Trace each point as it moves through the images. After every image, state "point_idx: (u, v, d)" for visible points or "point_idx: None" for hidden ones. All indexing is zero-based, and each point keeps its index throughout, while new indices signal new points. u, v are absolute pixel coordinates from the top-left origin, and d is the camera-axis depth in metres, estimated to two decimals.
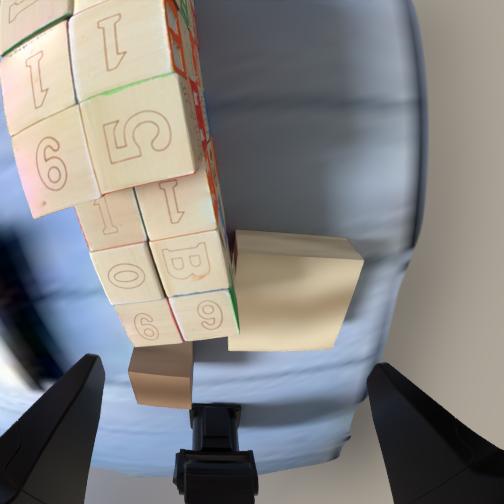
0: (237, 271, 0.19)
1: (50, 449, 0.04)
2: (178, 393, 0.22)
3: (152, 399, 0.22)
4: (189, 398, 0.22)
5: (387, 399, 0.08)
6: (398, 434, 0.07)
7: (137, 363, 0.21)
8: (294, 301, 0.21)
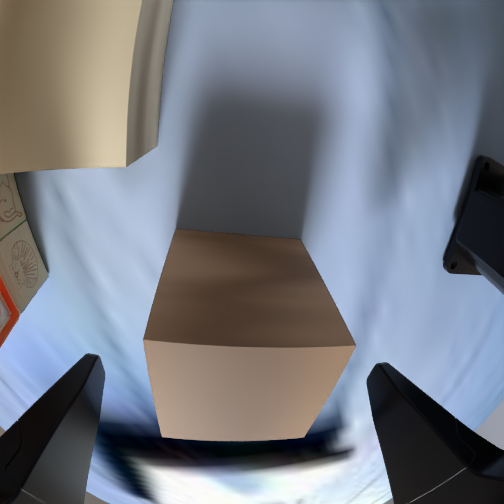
0: None
1: (50, 449, 0.04)
2: (249, 375, 0.07)
3: (282, 419, 0.08)
4: (281, 350, 0.06)
5: (387, 399, 0.08)
6: (398, 434, 0.07)
7: None
8: None
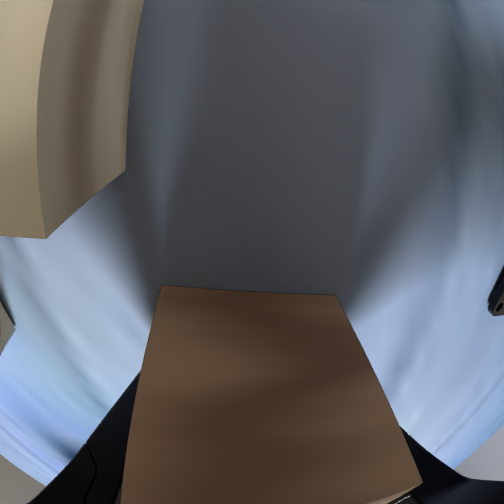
0: None
1: None
2: None
3: None
4: None
5: None
6: None
7: None
8: None
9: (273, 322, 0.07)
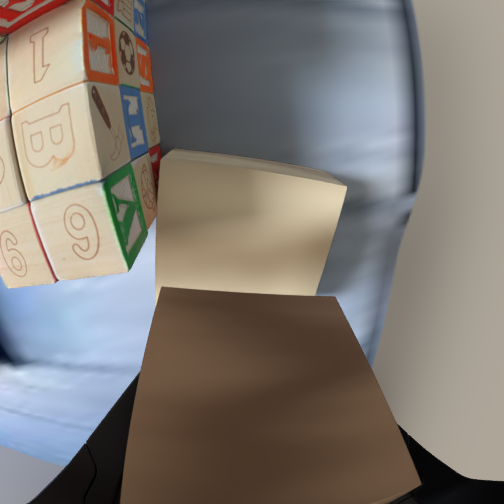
0: (160, 188, 0.13)
1: None
2: None
3: None
4: None
5: None
6: None
7: None
8: (243, 242, 0.15)
9: (272, 323, 0.07)
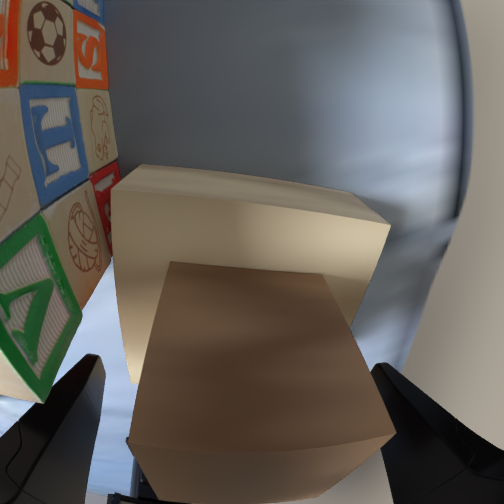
0: (114, 232, 0.08)
1: (51, 449, 0.04)
2: (265, 469, 0.05)
3: (296, 490, 0.06)
4: (308, 451, 0.04)
5: (387, 399, 0.08)
6: (398, 434, 0.07)
7: None
8: None
9: (266, 293, 0.08)
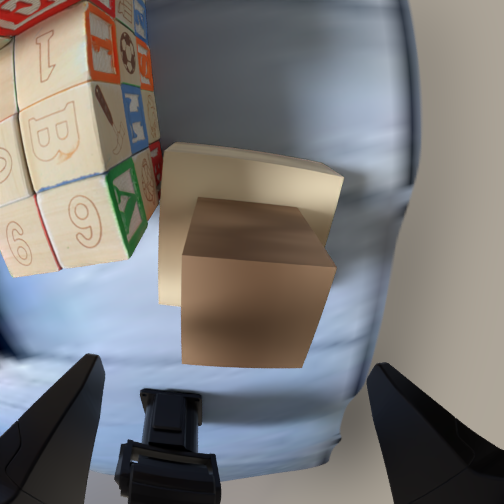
0: (163, 178, 0.13)
1: (50, 449, 0.04)
2: (257, 289, 0.10)
3: (283, 342, 0.11)
4: (281, 266, 0.09)
5: (387, 399, 0.08)
6: (398, 434, 0.07)
7: None
8: None
9: (259, 211, 0.13)
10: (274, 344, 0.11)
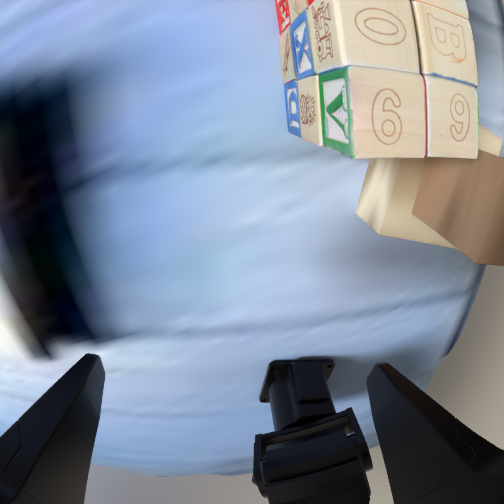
0: None
1: (50, 449, 0.04)
2: None
3: None
4: None
5: (387, 399, 0.08)
6: (398, 434, 0.07)
7: (467, 240, 0.11)
8: None
9: None
10: None
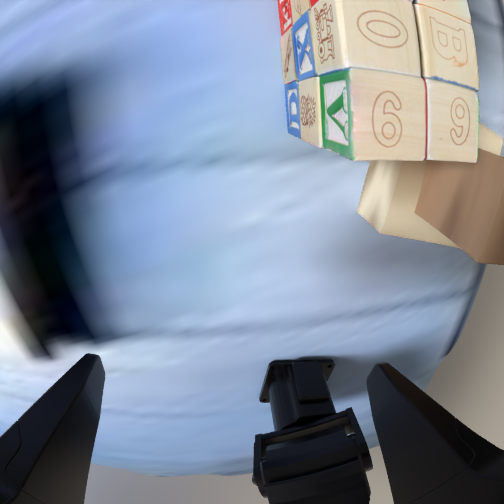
0: None
1: (50, 449, 0.04)
2: None
3: None
4: None
5: (387, 399, 0.08)
6: (398, 434, 0.07)
7: (470, 240, 0.11)
8: None
9: None
10: None
